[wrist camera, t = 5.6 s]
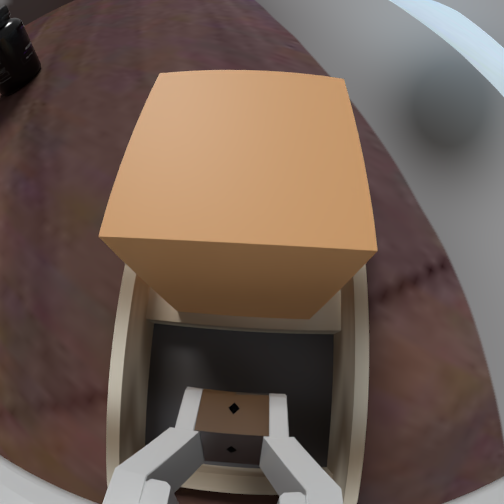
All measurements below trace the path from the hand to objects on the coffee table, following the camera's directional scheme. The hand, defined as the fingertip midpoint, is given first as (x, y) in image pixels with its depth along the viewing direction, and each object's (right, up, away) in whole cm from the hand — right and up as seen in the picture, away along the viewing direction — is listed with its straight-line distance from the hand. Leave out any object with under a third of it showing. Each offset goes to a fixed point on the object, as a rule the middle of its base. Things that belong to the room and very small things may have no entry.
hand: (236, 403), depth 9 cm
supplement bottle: (-30, +27, +17) cm, 44 cm away
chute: (0, +5, +8) cm, 9 cm away
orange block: (0, +5, +6) cm, 8 cm away
